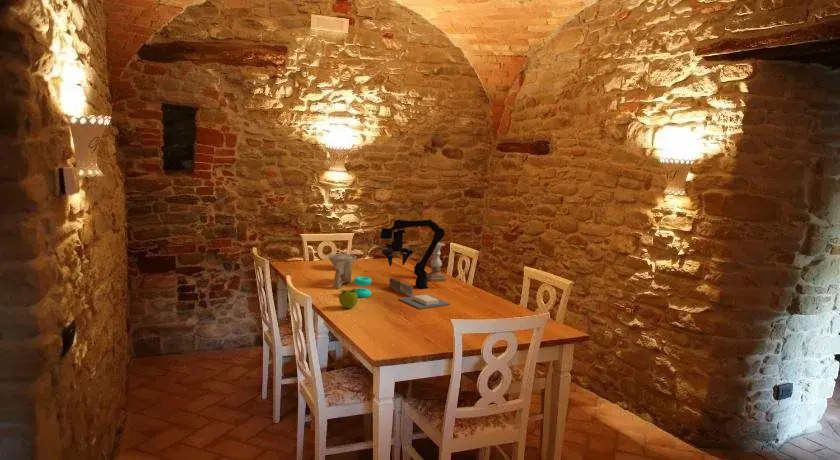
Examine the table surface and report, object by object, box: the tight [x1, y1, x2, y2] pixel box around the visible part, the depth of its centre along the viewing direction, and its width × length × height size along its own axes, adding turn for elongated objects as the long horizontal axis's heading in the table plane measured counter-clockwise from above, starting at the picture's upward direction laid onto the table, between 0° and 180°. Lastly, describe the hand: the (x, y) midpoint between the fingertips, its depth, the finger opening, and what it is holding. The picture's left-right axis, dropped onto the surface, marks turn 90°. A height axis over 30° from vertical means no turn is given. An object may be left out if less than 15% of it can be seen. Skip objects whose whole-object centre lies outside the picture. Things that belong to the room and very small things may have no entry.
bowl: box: [327, 253, 357, 267], centre depth 359 cm, size 19×19×10 cm
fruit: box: [338, 288, 359, 310], centre depth 269 cm, size 9×9×10 cm
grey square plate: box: [398, 294, 451, 310], centre depth 287 cm, size 20×20×1 cm
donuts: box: [353, 276, 373, 298], centre depth 293 cm, size 10×10×10 cm
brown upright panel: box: [388, 277, 414, 297], centre depth 305 cm, size 2×22×6 cm, turn 35°
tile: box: [413, 294, 439, 305], centre depth 285 cm, size 8×2×12 cm
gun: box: [333, 260, 354, 290], centre depth 316 cm, size 24×3×15 cm, turn 168°
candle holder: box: [427, 241, 447, 283], centre depth 342 cm, size 11×11×24 cm
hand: (396, 265), depth 319 cm, fingers open, 9 cm apart
